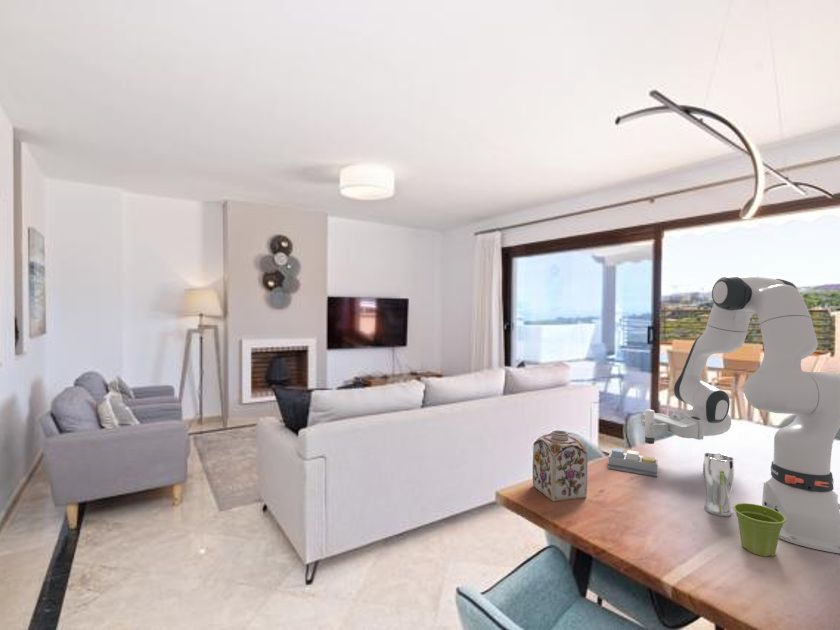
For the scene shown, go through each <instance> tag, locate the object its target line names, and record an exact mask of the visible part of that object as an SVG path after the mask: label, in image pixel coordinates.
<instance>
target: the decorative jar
mask: <svg viewBox="0 0 840 630" xmlns="http://www.w3.org/2000/svg"><path fill="white" fill-rule="evenodd" d="M532 453H533V454H532V486H533V488H535V489H537V490H538V491H539V492H540V493H542V494H543V495H544V496H545V497H547V498H548V499H549V500H550V501H552V502H560V501H561V502H563V501H569V500H576V499H578V500H579V499H585V498H587V496H588V495H587V494H588V464H589V462H588V460H589V459H588V457H589V455H588V450H587V449H586V447H585V446H584V444H583V442H582V441H581V440H580V439H579V438H577V437H574V436H572V435H569V433H568V432H567V431H564V430H558V429H557V430H552V431H551V433H546V434H543V435H541V436H540V437H538V438H537V439H536V440H535V441H534V442H533V448H532Z"/></svg>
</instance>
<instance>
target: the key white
mask: <svg viewBox="0 0 840 630" xmlns="http://www.w3.org/2000/svg"><path fill="white" fill-rule="evenodd" d="M626 453H627V459H630V460H636V461H639V455H640V451H636V450H629V449H627V451H626Z"/></svg>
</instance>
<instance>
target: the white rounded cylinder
mask: <svg viewBox="0 0 840 630" xmlns="http://www.w3.org/2000/svg"><path fill="white" fill-rule="evenodd" d="M644 413H645V426H644V442H645V444H650V445H653V444H655V430H654V429H651V428H650V424H651V423H654V413H655V410H654V409H645V410H644Z"/></svg>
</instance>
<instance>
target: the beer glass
mask: <svg viewBox="0 0 840 630" xmlns="http://www.w3.org/2000/svg"><path fill="white" fill-rule="evenodd" d="M734 463H735V461H734V457H732V456H730V455H728V454H724V453H718V452H705V453H704V455H703V464H702V465H703V466H702V476H703V477H702V478H703V482H704V488H705V501H704V502H705V503H704V507H703V509H704V510H705V512H707V513H709V514H712V515H715V516H718V517H730V516H732V510H731V504H730V503H731V502H730V500H731V495H732V491H733V487H734V481H735V465H734Z"/></svg>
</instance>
